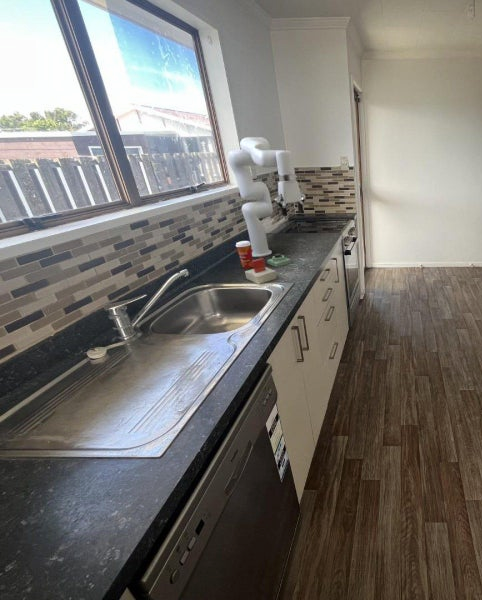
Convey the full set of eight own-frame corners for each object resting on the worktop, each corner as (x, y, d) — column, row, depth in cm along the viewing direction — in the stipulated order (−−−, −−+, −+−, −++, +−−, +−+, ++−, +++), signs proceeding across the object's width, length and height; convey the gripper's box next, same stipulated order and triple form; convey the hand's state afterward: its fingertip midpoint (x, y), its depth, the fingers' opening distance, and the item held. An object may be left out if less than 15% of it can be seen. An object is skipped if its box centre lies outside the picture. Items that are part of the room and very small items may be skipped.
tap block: (246, 278, 168) (244, 271, 166) (264, 273, 175) (262, 265, 173) (258, 284, 161) (257, 276, 159) (276, 278, 168) (275, 270, 166)
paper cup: (237, 268, 183) (231, 243, 177) (248, 263, 189) (243, 240, 183) (248, 269, 180) (242, 245, 174) (258, 265, 187) (253, 241, 181)
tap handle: (255, 272, 164) (253, 261, 161) (254, 272, 165) (251, 260, 162) (265, 269, 168) (263, 258, 165) (264, 269, 169) (261, 257, 166)
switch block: (267, 263, 189) (266, 257, 187) (281, 259, 195) (280, 253, 194) (277, 267, 183) (275, 260, 182) (291, 263, 189) (290, 256, 188)
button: (273, 257, 187) (273, 254, 187) (279, 256, 190) (278, 253, 189) (277, 258, 185) (276, 255, 185) (282, 257, 188) (282, 254, 187)
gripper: (297, 176, 167) (302, 211, 174) (267, 179, 155) (273, 216, 162) (306, 177, 163) (311, 212, 170) (276, 180, 150) (282, 217, 158)
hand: (293, 214), depth 166 cm, fingers open, 9 cm apart
